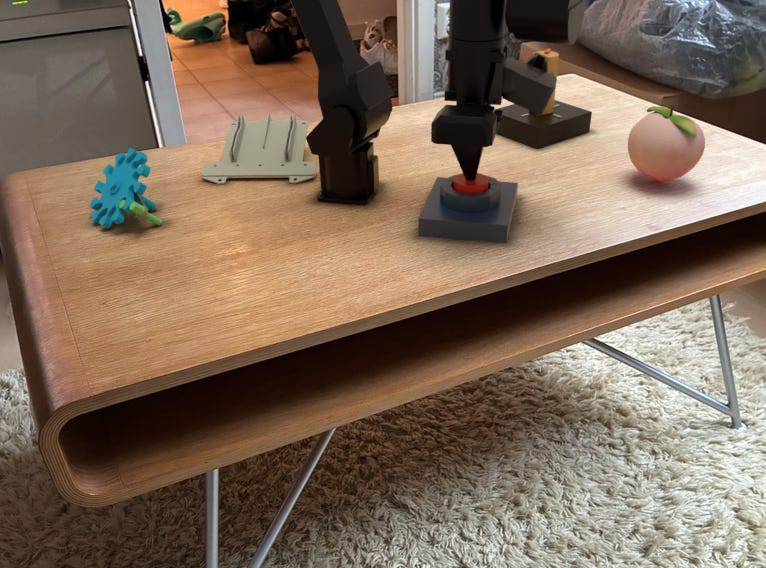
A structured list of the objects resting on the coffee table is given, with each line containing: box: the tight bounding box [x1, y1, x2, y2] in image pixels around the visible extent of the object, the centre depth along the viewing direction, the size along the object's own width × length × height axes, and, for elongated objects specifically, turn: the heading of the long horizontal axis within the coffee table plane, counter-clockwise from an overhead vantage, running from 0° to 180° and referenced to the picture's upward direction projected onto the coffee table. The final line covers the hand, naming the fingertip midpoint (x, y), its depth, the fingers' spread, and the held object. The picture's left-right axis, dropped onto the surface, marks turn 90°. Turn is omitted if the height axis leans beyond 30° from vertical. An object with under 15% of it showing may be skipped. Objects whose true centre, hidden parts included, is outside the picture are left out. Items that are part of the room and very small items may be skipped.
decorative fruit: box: [627, 103, 706, 184], centre depth 94 cm, size 9×8×10 cm
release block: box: [417, 174, 519, 244], centre depth 89 cm, size 12×10×4 cm
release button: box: [454, 172, 489, 194], centre depth 88 cm, size 4×4×2 cm
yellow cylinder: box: [532, 47, 560, 115], centre depth 109 cm, size 4×4×8 cm
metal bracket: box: [201, 111, 318, 185], centre depth 104 cm, size 14×6×15 cm
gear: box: [89, 147, 163, 229], centre depth 91 cm, size 11×6×10 cm
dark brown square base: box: [496, 99, 593, 150], centre depth 113 cm, size 11×10×3 cm
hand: (470, 178), depth 88 cm, fingers closed, pressing on release button
